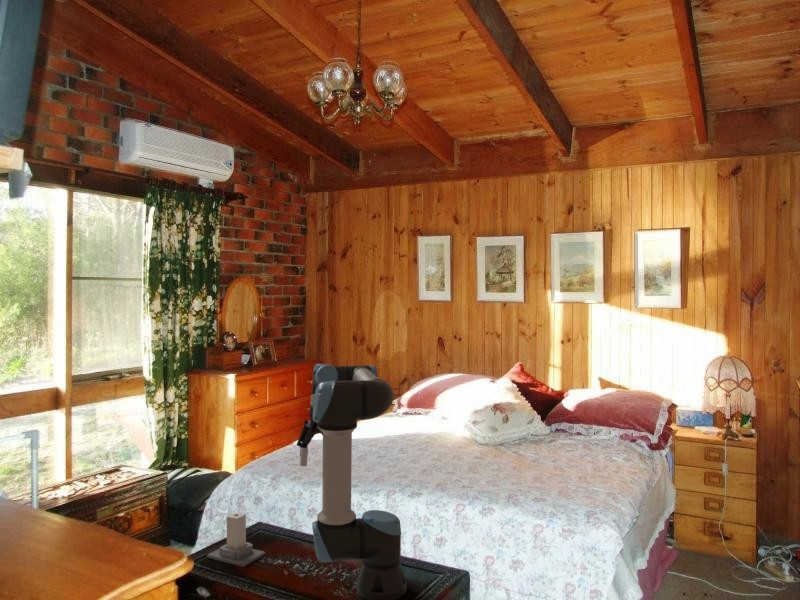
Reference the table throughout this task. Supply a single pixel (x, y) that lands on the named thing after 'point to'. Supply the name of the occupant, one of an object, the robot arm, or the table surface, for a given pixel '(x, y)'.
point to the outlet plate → (236, 555)
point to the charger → (236, 531)
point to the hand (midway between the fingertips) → (315, 467)
